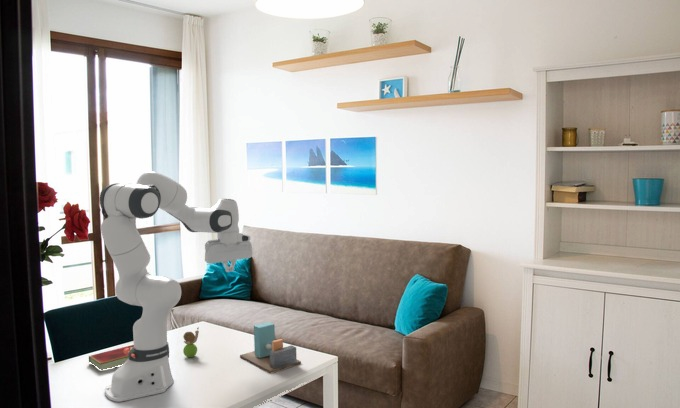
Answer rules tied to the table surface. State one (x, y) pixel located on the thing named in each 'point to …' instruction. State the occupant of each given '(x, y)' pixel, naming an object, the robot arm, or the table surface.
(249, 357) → the brown wooden base board
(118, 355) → the hardcover book
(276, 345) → the orange flat block
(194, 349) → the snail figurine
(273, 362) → the grey lying block
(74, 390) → the table surface
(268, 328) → the teal upright block
